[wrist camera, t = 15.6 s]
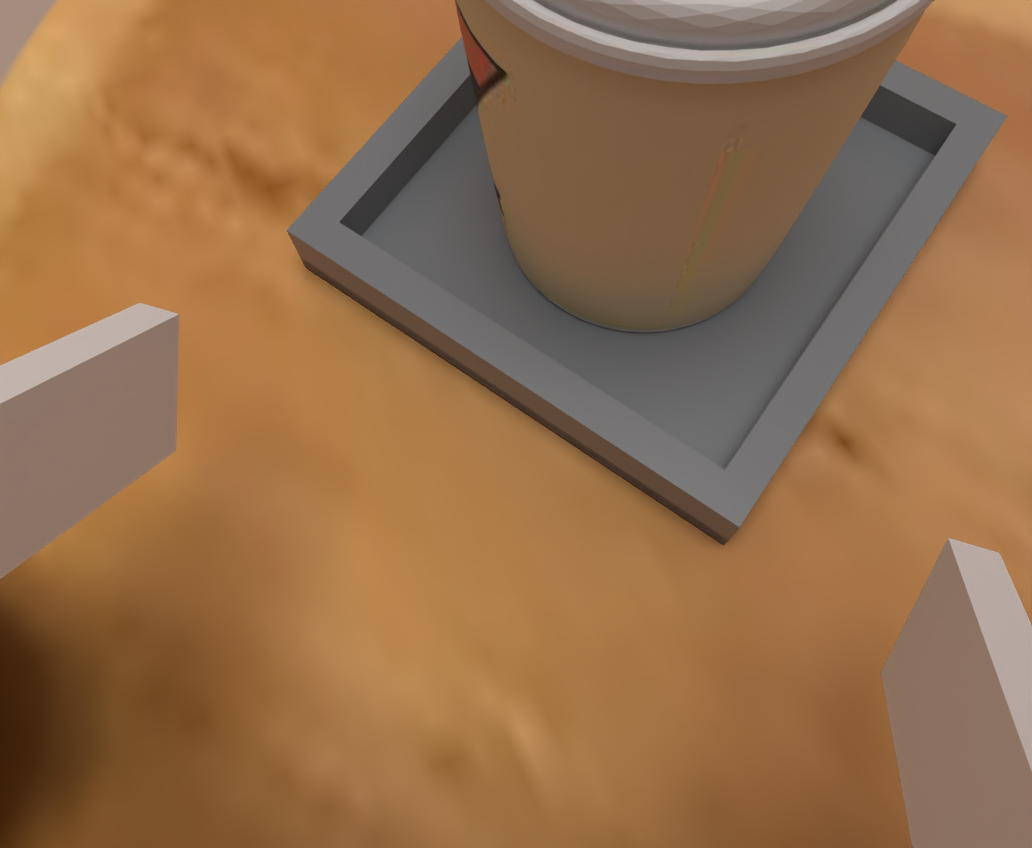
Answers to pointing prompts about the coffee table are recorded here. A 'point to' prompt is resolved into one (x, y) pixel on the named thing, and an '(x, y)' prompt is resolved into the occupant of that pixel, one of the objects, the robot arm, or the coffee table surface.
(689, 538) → the coffee table surface
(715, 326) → the tray
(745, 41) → the coffee cup
